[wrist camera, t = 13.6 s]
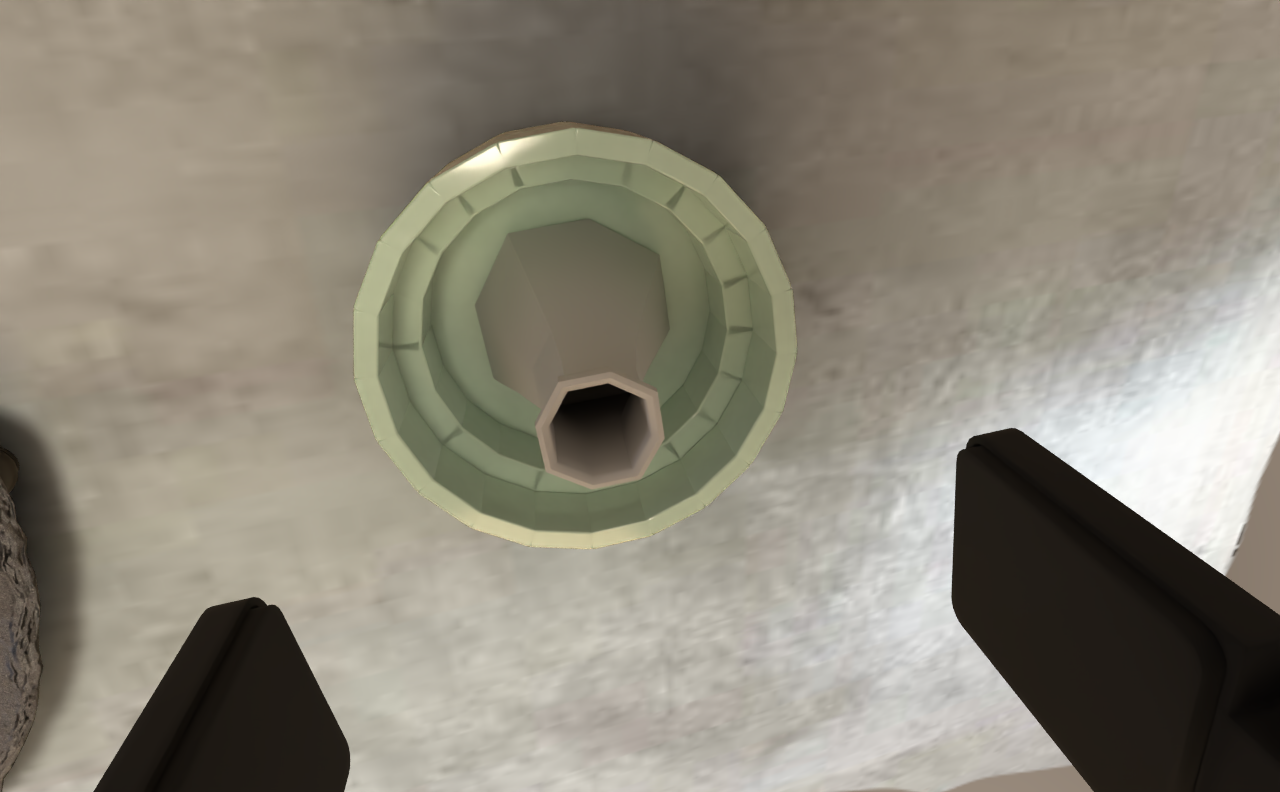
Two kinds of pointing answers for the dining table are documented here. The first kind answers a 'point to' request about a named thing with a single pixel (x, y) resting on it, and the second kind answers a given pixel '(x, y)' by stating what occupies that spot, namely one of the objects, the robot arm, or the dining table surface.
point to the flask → (580, 345)
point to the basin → (505, 420)
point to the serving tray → (16, 626)
